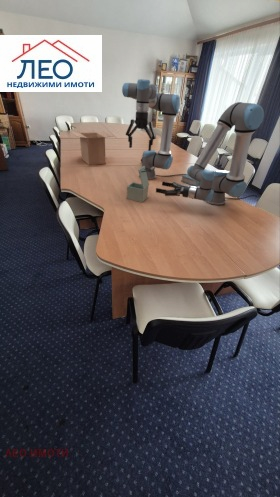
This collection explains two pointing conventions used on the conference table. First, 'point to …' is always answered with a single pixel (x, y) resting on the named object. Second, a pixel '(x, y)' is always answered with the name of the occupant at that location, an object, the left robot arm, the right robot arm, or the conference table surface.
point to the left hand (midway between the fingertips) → (139, 149)
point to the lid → (144, 175)
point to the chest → (137, 192)
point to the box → (92, 146)
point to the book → (189, 180)
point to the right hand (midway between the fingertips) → (159, 186)
